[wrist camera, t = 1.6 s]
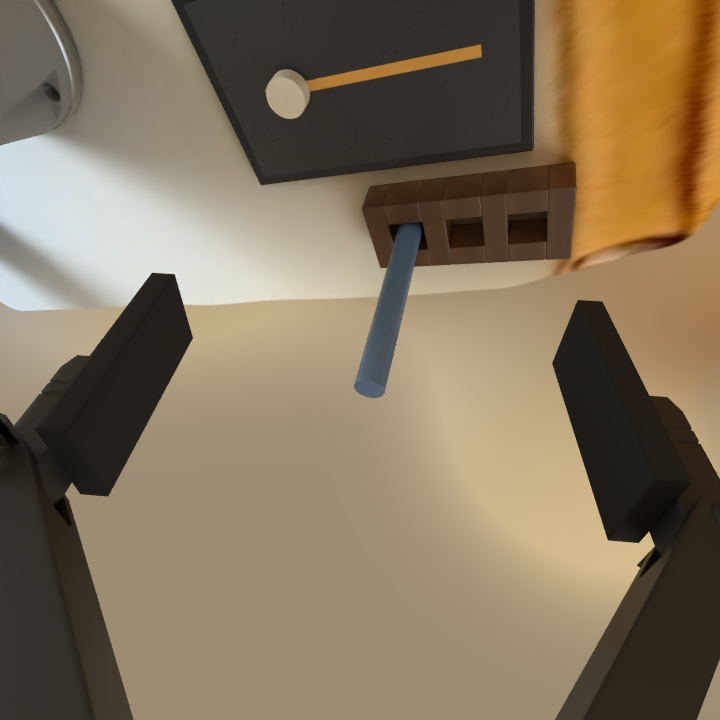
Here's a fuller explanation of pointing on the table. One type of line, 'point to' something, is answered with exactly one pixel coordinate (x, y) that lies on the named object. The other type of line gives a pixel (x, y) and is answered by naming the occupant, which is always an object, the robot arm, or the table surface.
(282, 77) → the slider knob
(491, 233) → the pen stand
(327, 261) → the table surface
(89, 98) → the table surface
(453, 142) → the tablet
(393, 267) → the stylus
